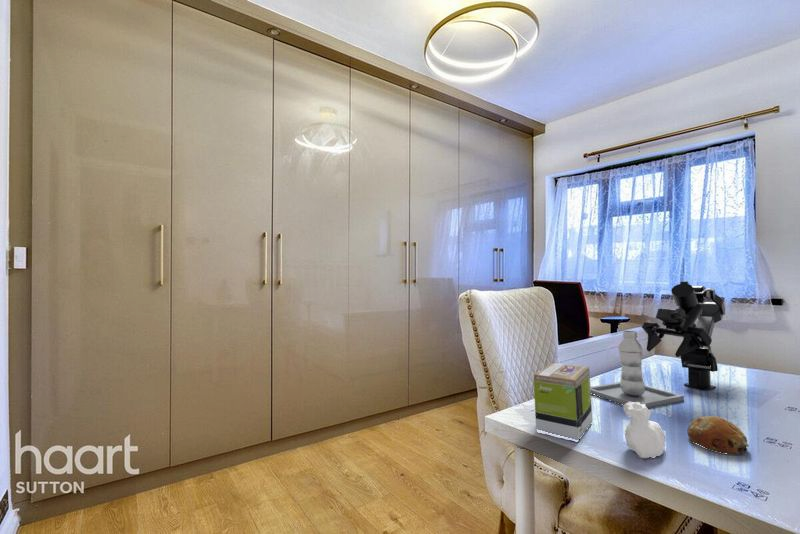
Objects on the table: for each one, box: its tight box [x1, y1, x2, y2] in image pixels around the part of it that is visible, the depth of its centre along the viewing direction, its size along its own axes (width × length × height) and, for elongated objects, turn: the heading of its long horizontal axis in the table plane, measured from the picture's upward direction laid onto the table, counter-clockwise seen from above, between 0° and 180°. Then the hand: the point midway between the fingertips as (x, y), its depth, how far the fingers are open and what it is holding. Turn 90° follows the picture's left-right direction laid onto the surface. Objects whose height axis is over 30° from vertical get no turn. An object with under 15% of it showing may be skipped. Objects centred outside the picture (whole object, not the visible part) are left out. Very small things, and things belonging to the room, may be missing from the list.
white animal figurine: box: [622, 402, 666, 459], centre depth 80 cm, size 12×8×11 cm
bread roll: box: [687, 415, 750, 455], centre depth 82 cm, size 10×10×8 cm
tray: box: [590, 381, 685, 409], centre depth 115 cm, size 20×18×2 cm
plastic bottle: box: [617, 330, 646, 396], centre depth 115 cm, size 6×7×20 cm
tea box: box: [533, 362, 593, 440], centre depth 92 cm, size 15×10×15 cm
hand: (661, 353), depth 115 cm, fingers open, 9 cm apart
